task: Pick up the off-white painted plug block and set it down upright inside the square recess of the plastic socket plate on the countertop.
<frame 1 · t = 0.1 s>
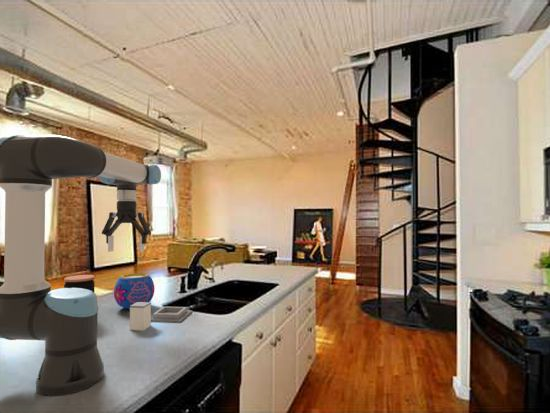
hand: (126, 251, 137), 28 cm above the worktop, fingers open, 13 cm apart
plug block: (140, 327, 126), on the worktop
ceramic pot: (134, 308, 153), on the worktop
socket plate: (170, 316, 140), on the worktop
coffee jar: (79, 322, 133), on the worktop
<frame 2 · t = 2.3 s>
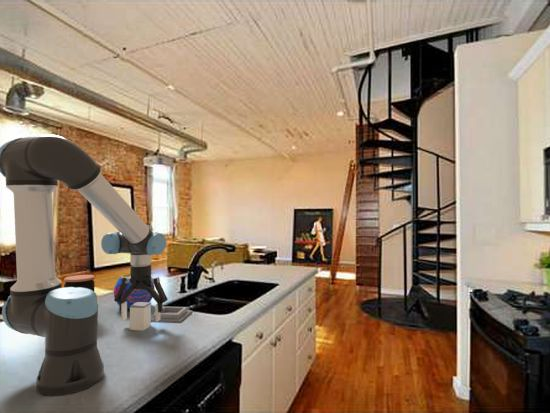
hand: (141, 320, 127), 3 cm above the worktop, fingers open, 13 cm apart
nothing on the worktop moved.
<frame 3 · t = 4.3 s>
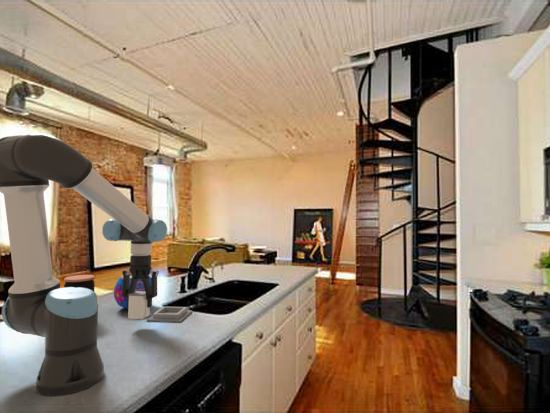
hand: (139, 315, 126), 5 cm above the worktop, fingers closed on plug block, 5 cm apart
plug block: (138, 316, 126), point 4 cm above the worktop, touching gripper
everything else where it was.
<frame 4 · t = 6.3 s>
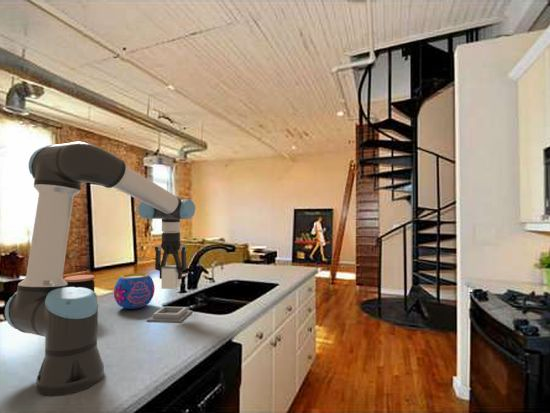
hand: (170, 286, 140), 13 cm above the worktop, fingers closed on plug block, 5 cm apart
plug block: (170, 287, 140), point 12 cm above the worktop, touching gripper
everything else where it was.
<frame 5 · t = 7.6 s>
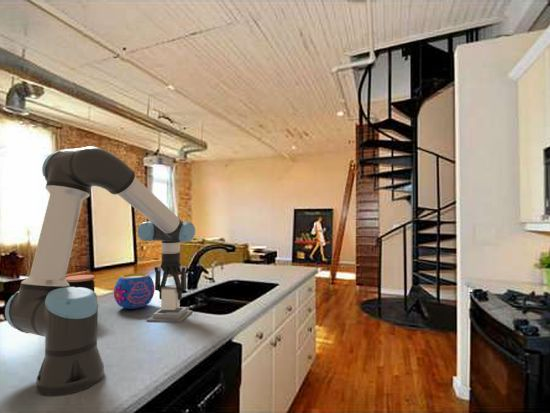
hand: (170, 306, 140), 4 cm above the worktop, fingers closed on plug block, 5 cm apart
plug block: (170, 307, 140), point 4 cm above the worktop, touching gripper
everything else where it was.
when the fingers open (3 cm above the worktop, at t = 8.6 s): plug block drops 2 cm, resting on socket plate.
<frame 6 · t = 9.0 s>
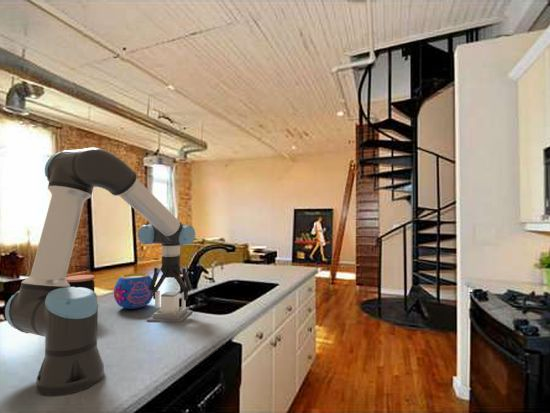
hand: (170, 307, 140), 4 cm above the worktop, fingers open, 11 cm apart
plug block: (170, 314, 140), point 1 cm above the worktop, touching socket plate
everything else where it was.
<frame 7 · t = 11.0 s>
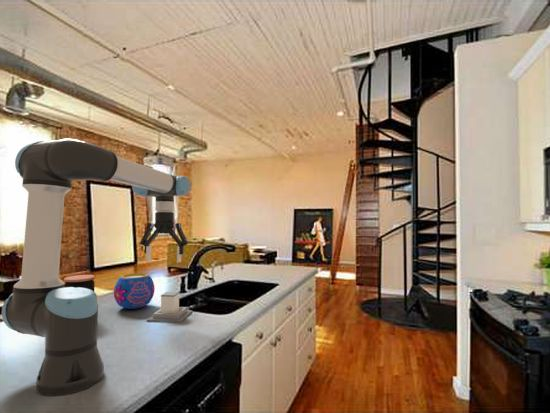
hand: (163, 261, 139), 23 cm above the worktop, fingers open, 13 cm apart
nothing on the worktop moved.
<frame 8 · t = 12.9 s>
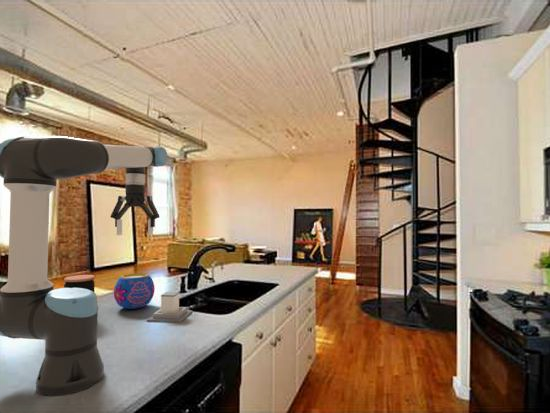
hand: (134, 235, 138), 35 cm above the worktop, fingers open, 13 cm apart
nothing on the worktop moved.
at the end: plug block 0.2 cm off-centre on the socket plate, point 0.8 cm above the socket plate's base; plug block tilted 0°; the gripper is holding nothing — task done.
